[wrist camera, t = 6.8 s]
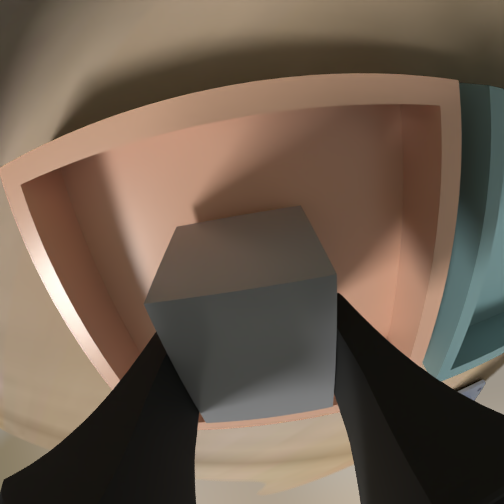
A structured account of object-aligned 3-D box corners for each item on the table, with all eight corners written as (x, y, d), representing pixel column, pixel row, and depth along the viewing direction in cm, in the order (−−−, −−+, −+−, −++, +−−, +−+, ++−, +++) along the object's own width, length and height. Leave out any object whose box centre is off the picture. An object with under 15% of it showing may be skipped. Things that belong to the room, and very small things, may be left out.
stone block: (310, 323, 12) (332, 406, 8) (212, 338, 12) (206, 423, 8) (300, 205, 9) (336, 274, 6) (176, 226, 10) (143, 304, 6)
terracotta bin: (391, 351, 15) (411, 392, 12) (154, 386, 15) (145, 429, 13) (407, 79, 8) (458, 80, 6) (46, 147, 9) (-2, 168, 6)
